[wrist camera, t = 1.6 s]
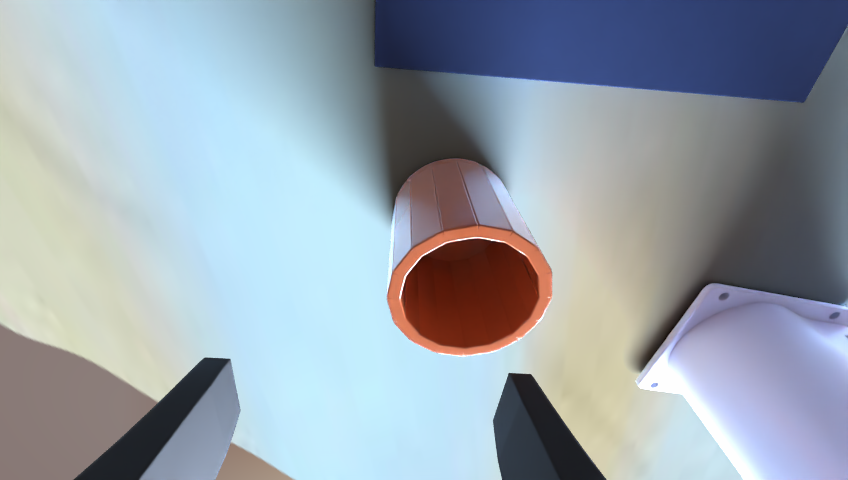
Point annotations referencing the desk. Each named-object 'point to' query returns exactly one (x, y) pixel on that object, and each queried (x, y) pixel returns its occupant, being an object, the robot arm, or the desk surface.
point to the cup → (463, 262)
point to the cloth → (620, 42)
